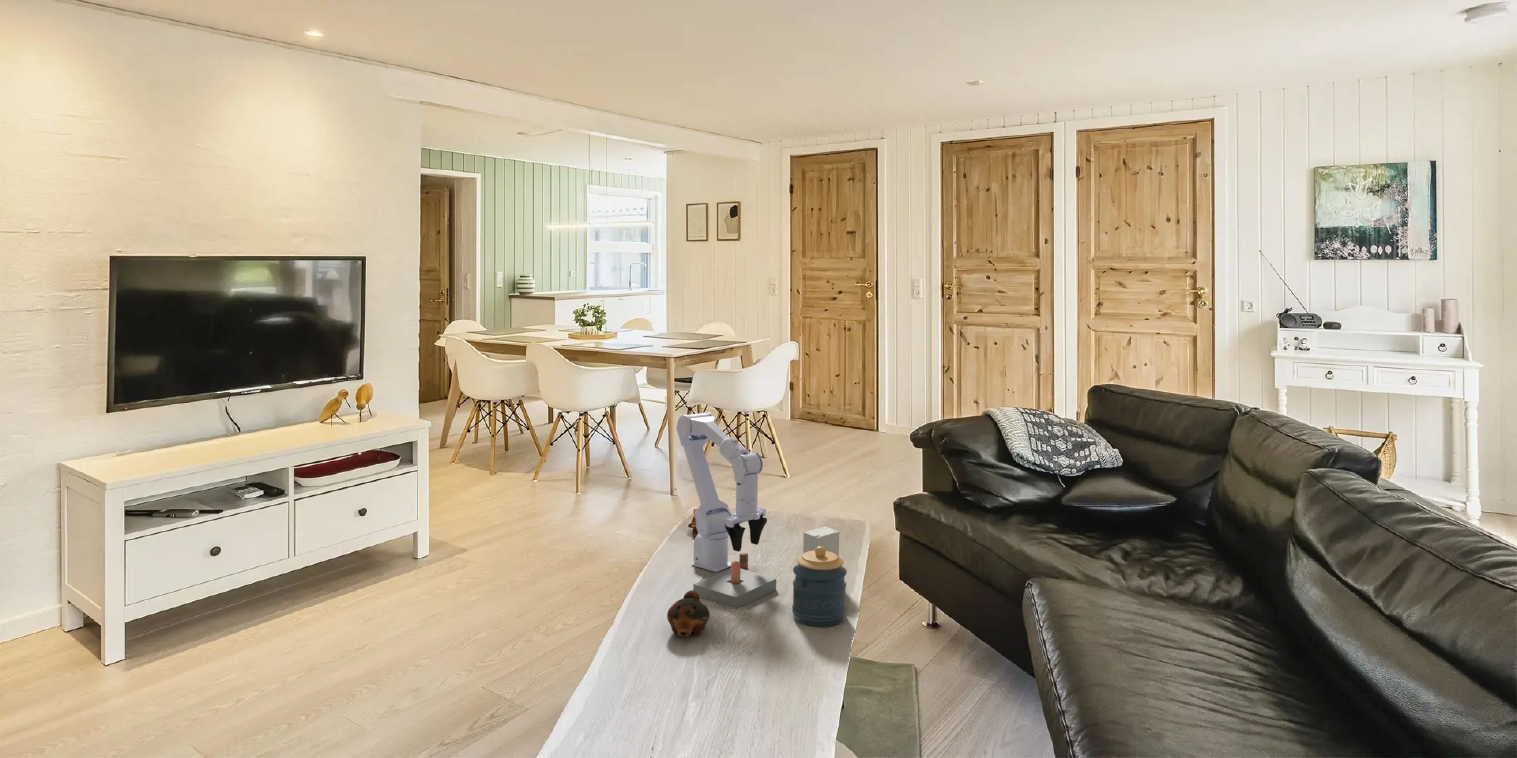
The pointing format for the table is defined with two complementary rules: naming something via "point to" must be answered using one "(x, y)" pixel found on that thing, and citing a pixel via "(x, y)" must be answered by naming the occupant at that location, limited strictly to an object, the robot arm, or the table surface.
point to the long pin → (735, 572)
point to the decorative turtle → (688, 615)
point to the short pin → (743, 561)
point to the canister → (819, 588)
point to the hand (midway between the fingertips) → (745, 547)
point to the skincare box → (821, 540)
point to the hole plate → (735, 588)
